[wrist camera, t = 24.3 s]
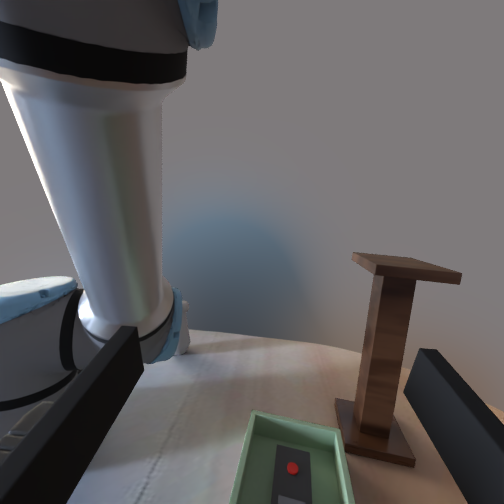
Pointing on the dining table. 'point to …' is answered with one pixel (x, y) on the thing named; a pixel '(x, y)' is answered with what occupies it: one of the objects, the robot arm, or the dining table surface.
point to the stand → (384, 357)
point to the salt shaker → (183, 331)
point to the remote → (291, 477)
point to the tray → (298, 437)
